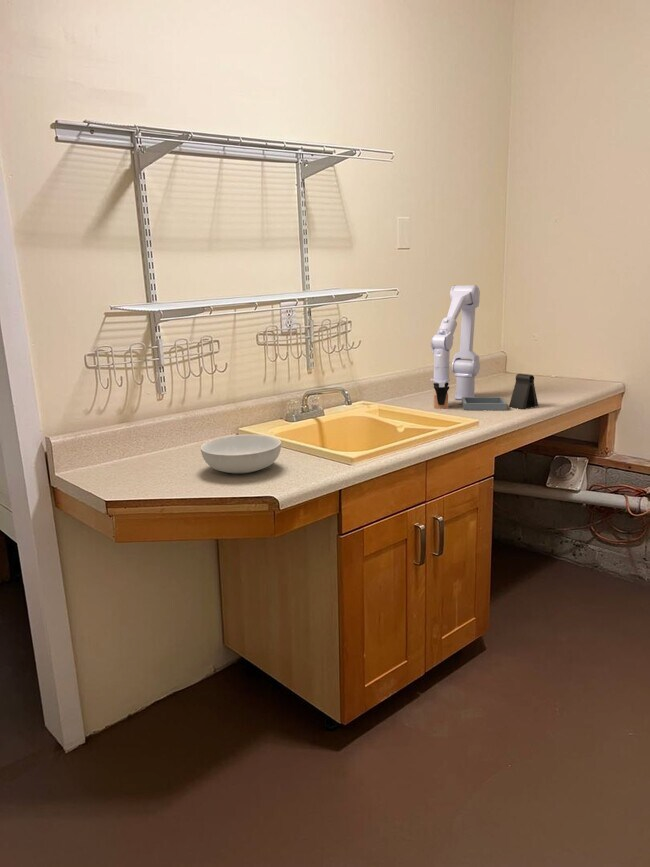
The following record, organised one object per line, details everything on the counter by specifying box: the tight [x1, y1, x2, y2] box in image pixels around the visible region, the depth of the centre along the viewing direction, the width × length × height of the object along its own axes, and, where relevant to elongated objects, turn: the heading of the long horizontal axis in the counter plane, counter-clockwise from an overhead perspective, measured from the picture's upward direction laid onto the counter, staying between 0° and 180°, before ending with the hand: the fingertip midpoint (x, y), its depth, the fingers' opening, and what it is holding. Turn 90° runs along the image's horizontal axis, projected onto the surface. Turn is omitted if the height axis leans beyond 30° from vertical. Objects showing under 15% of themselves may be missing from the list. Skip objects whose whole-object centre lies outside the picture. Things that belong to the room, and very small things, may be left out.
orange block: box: [433, 392, 449, 409], centre depth 245 cm, size 5×5×5 cm
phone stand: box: [508, 373, 539, 410], centre depth 240 cm, size 9×6×12 cm, turn 124°
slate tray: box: [461, 396, 508, 412], centre depth 243 cm, size 13×15×2 cm
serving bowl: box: [200, 434, 282, 475], centre depth 172 cm, size 21×21×7 cm
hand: (441, 403), depth 245 cm, fingers closed on orange block, 5 cm apart
